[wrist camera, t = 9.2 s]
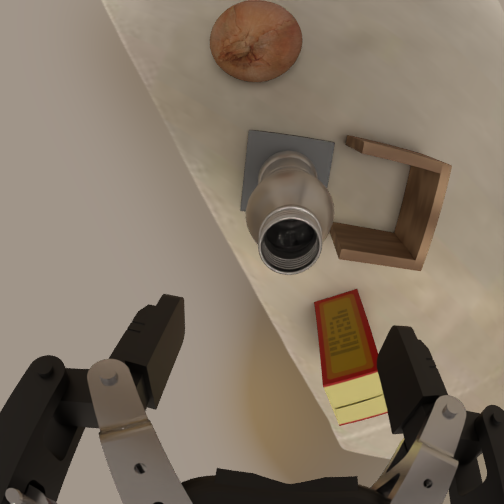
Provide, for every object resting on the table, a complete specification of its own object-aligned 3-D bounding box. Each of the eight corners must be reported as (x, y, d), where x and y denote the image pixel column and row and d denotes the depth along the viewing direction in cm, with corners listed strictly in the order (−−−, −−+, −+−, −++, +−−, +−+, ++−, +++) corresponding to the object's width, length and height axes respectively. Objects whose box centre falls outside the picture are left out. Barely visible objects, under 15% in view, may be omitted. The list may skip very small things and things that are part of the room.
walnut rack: (347, 135, 33) (364, 141, 25) (421, 153, 32) (451, 165, 25) (329, 230, 38) (338, 259, 31) (399, 242, 38) (420, 271, 31)
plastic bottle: (248, 178, 36) (209, 252, 18) (286, 136, 33) (287, 163, 15) (288, 212, 37) (290, 314, 19) (327, 173, 34) (370, 242, 16)
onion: (254, 80, 34) (226, 109, 27) (214, 22, 28) (173, 37, 22) (322, 51, 28) (313, 71, 22) (281, -15, 23) (256, -17, 17)
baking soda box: (314, 302, 43) (323, 388, 29) (356, 288, 42) (383, 371, 27) (330, 346, 47) (339, 428, 32) (368, 334, 45) (389, 414, 31)
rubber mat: (249, 129, 34) (248, 130, 33) (333, 142, 33) (334, 142, 33) (241, 208, 38) (240, 210, 37) (319, 220, 38) (320, 222, 37)
